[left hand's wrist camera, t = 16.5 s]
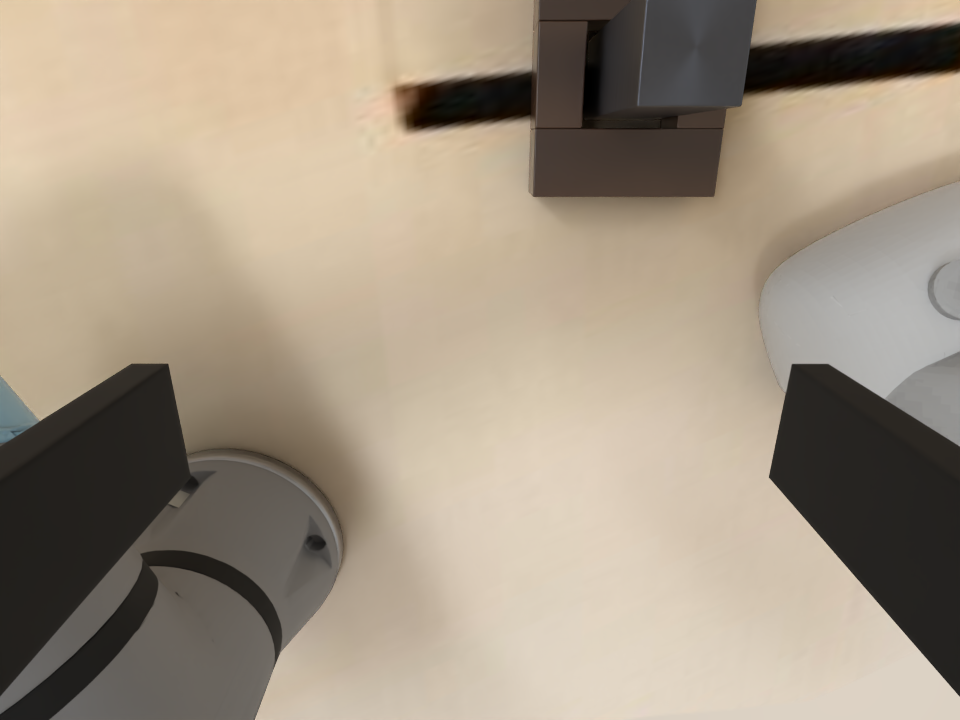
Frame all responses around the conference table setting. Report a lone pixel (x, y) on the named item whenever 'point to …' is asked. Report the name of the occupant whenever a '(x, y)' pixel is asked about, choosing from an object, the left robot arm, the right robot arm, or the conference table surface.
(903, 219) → the projector
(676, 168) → the peg board
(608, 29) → the peg
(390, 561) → the conference table surface
